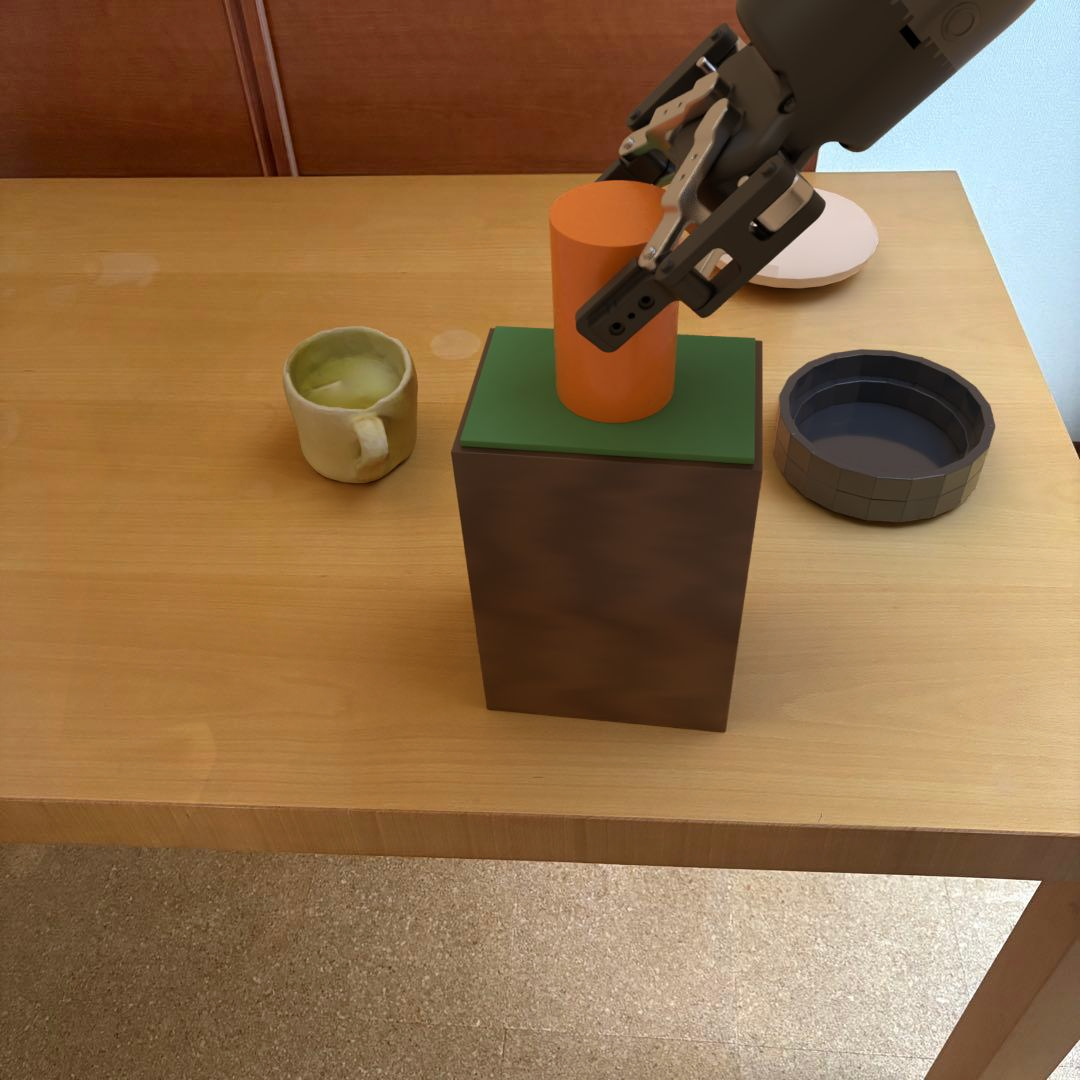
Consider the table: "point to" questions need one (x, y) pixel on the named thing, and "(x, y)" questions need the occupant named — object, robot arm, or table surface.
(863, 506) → the pot
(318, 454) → the mug
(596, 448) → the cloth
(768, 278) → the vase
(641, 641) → the stand
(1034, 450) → the table surface
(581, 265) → the orange can
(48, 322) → the table surface
